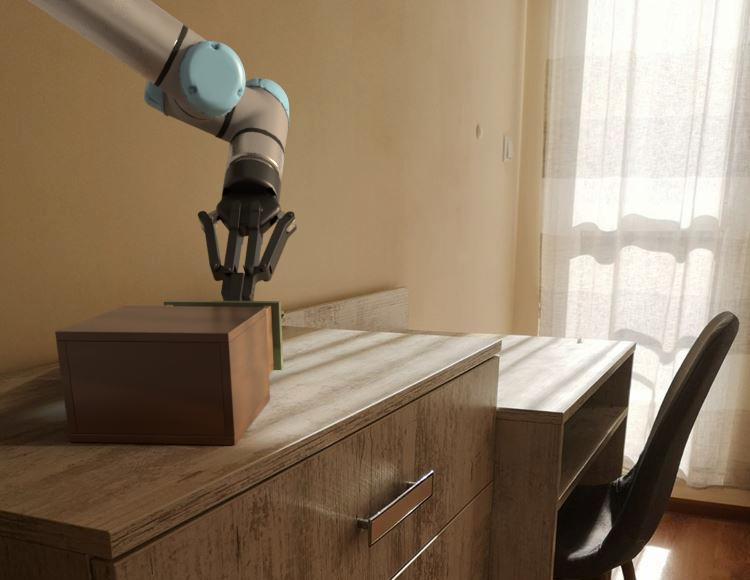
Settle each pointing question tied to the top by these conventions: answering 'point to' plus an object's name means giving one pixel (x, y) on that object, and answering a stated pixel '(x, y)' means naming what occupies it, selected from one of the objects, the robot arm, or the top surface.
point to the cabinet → (165, 374)
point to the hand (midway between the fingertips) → (233, 322)
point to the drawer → (271, 317)
